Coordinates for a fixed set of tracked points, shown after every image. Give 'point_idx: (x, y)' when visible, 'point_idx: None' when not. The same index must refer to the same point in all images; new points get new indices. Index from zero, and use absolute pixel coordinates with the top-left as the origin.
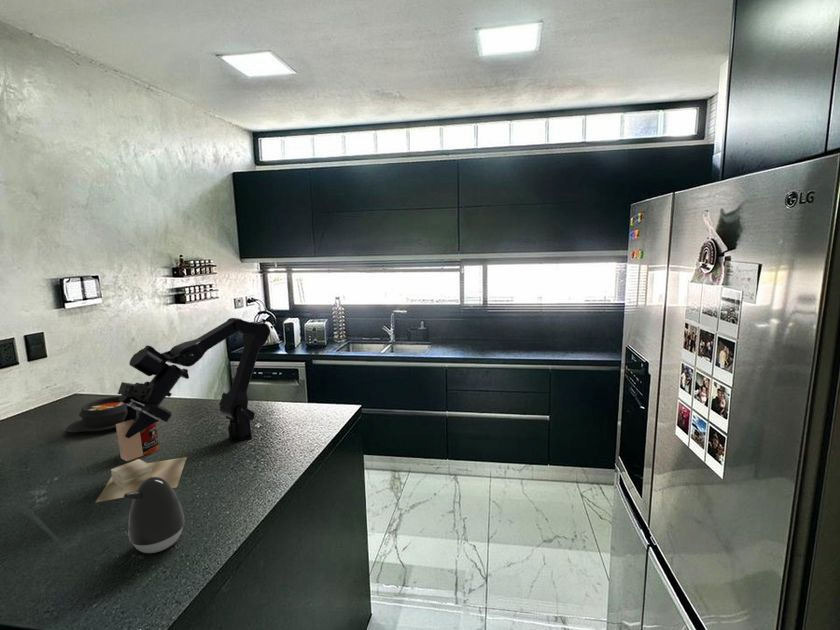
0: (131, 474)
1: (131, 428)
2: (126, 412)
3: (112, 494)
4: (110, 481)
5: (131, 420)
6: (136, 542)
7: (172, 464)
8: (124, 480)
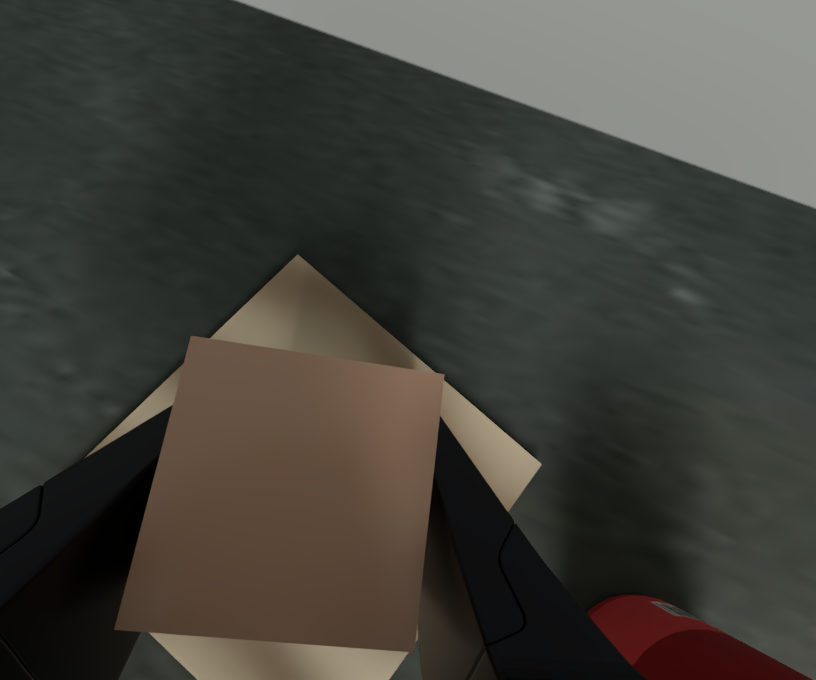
0: None
1: (106, 446)
2: (569, 675)
3: (295, 320)
4: None
5: (365, 607)
6: None
7: (302, 664)
8: None
